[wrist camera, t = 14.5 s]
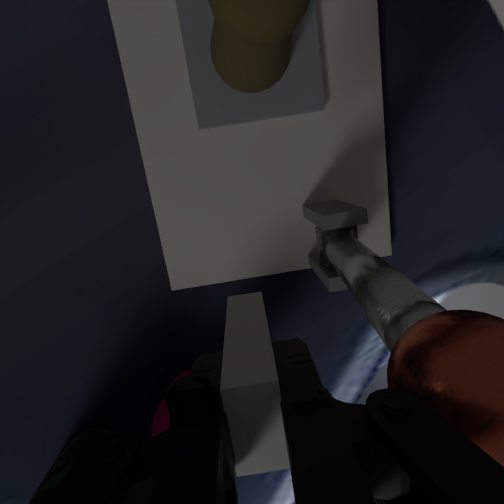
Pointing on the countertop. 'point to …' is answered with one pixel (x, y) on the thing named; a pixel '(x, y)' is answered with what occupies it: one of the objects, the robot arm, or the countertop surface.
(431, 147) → the countertop surface
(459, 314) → the press lever
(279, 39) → the cork
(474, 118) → the countertop surface
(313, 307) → the countertop surface
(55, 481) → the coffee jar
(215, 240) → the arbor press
